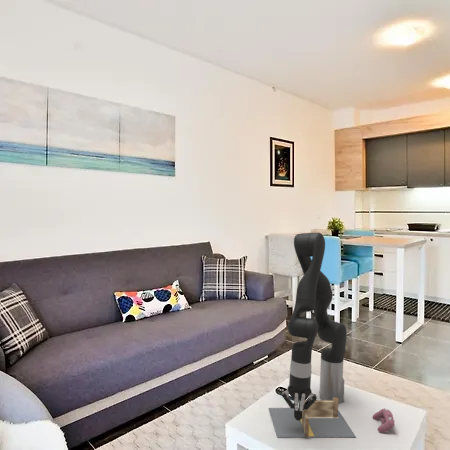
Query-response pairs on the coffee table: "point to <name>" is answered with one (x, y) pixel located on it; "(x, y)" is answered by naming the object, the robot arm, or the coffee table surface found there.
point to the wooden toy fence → (323, 408)
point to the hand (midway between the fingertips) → (297, 419)
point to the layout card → (317, 425)
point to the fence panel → (305, 423)
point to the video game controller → (384, 420)
